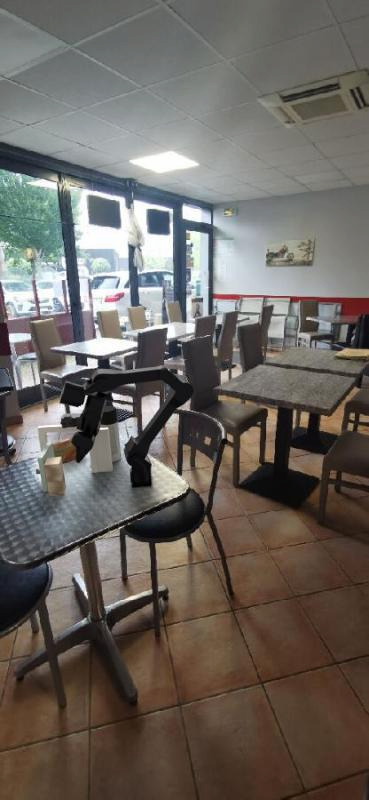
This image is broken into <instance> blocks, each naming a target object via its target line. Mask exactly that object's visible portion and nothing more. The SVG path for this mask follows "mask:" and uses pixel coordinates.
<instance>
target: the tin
mask: <svg viewBox="0 0 369 800" xmlns="http://www.w3.org/2000/svg"><path fill="white" fill-rule="evenodd" d="M72 437H73V436H72ZM72 437H69V438H66V439H63V440H62V439H61V440H59V441H57V442H55V443H52V444H53V451H54V457H62V463H63V465H65V464H68V463H70V462H73V461H76V447H75V446H74V445H72V443H71V441H72Z"/></svg>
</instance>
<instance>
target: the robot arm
mask: <svg viewBox="0 0 369 800" xmlns="http://www.w3.org/2000/svg"><path fill="white" fill-rule="evenodd" d="M157 381H162V382H164V384H166V385H167V386H168V387H169V389H168V391H167V394H166V397H165V400H164V402H163V403H161V405H160V407H159V408H158V409H157V411H156V412H155V414H154V415H153V416H152V418H151V419H150V420H149V422H147V425H146V426H145V427H144V429H142V431H141V433H140V434H139V435H138V436H136V437H135V436H133V435H131V436H130V437H129V439H128V441H127V442H126V443H125V444H124V448H123V455H124V457H125V461H126V462H127V465H129V466H130V467H131V468H130V469H129V478H130V483H131V488H146V487H147V488H149V487H151V488H152V487H153V475H152V473H153V472H152V466H153V465H152V462H151V460H150V457H149V455H148V454H149V451H150V448H151V445H152V443H153V442H154V440H155V439H156V437H157V436H158V435H159V434H160V432H161V431H162V430H163V428H164V427H165V425H166V424H167V423H168V421H169V420H170V419H171V418H172V416H173V414H174V413H175V412H176V411H177V410H178V409H179V408H181V407H182V406H184V405H185V404H187V403H188V401H190V400H191V398H193V396H194V393H195V391H194V387H193V385H192V384H191V383H190V382H189V381H188V380H187V379H186V378H183V377H178V376H177V375H176V374H175V373H173V372H172V371H171V370H170V369H169V368H168V367H167V366H166V365H162V364H161V365H157V366H152V367H149V366H148V367H141V368H135V369H134V368H133V369H126V370H116V369H109V368H99V369H96V370H94V372H93V373H92V375H91V377H89V379H87V380H85V382H84V383H83V382H82V384H77V383H74V382H72V381H68V380H65V382H64V385H63V389H61V393H60V397H59V402H58V403H59V404H60V405H65V406H69V407H73V408H74V407H75V408H79V407H82V406H83V405H84V407H83V409H82V412H80V413H76V412H75V413H63V414H62V415H61V417H60V424H59V425H62V428H67V427H77V429H78V430H80V431H75V432H74V433H73V435H72V441H71V443H72V445H74V446H75V447H76V460H75V462H76V463H77V464H81V462H82V461H83V459H84V458H85V457H86V456H87V455H88V454H89V451H90V450H91V449H92V448H93V445H94V442H95V437H96V436H97V434H98V432H99V430H100V427H101V422H100V421H101V418H102V415H103V410H104V407H105V406H106V403H107V401H110V402H114V397H113V395H112V394H111V391H113V390H116V389H119V388H120V387H123V386H126V385H134V384H141V383H143V384H144V383H149V382H157ZM85 400H86V401H85ZM84 403H85V404H84Z"/></svg>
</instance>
